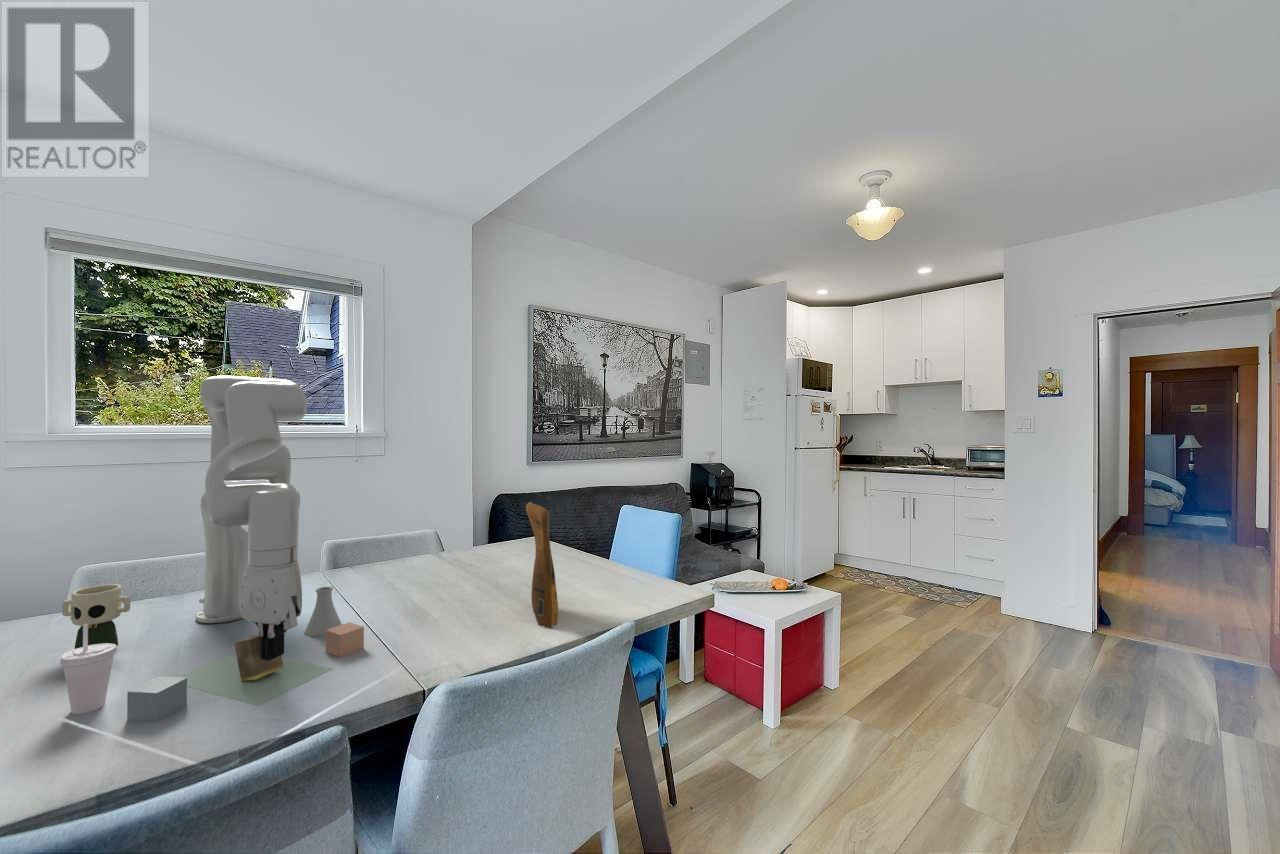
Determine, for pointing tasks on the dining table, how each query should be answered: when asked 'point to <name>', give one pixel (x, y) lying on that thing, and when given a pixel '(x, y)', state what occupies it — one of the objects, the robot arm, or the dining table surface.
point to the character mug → (96, 612)
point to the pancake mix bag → (543, 569)
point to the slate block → (156, 699)
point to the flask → (323, 614)
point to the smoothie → (88, 674)
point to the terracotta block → (344, 639)
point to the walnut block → (254, 659)
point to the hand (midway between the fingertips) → (272, 656)
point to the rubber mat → (227, 680)
